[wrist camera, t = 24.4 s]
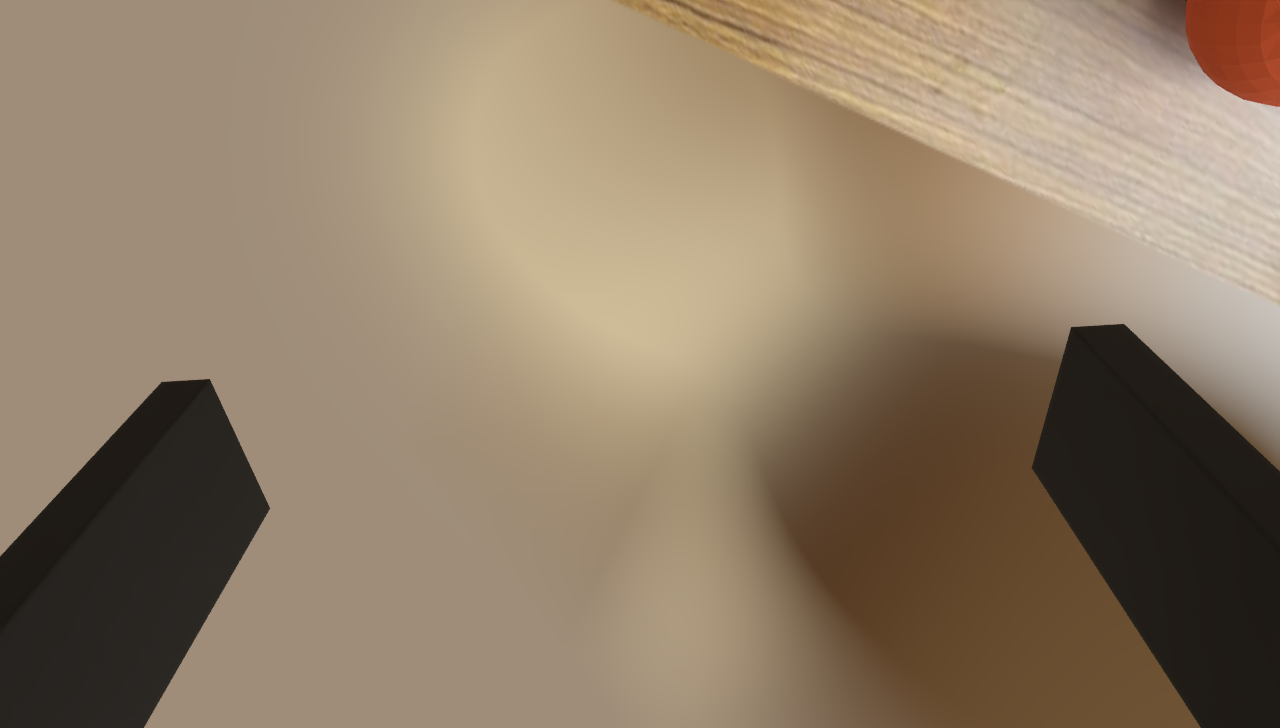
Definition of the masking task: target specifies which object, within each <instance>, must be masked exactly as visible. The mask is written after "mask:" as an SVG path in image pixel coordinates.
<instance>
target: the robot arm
mask: <svg viewBox="0 0 1280 728" xmlns="http://www.w3.org/2000/svg"><path fill="white" fill-rule="evenodd" d="M1032 469H1033V470H1034V472H1035V474H1036V475H1037V477H1038V478H1039V480H1040V481H1041V483H1042V484H1043V486H1044V487H1045V489H1046V490H1047V492H1048V494H1049V495H1050V497H1051V498H1052V499H1053V501H1054V503H1055V504H1056V506H1057V507H1058V509H1059V510H1060V512H1061V514H1062V515H1063V517H1064V518H1065V520H1066V521H1067V523H1068V524H1069V526H1070V527H1071V529H1072V530H1073V532H1074V533H1075V535H1076V536H1077V538H1078V540H1079V541H1080V543H1081V544H1082V546H1083V547H1084V549H1085V550H1086V552H1087V553H1088V555H1089V556H1090V558H1091V560H1092V561H1093V563H1094V564H1095V566H1096V567H1097V569H1098V570H1099V572H1100V573H1101V575H1102V577H1103V578H1104V580H1105V581H1106V583H1107V584H1108V586H1109V587H1110V589H1111V590H1112V592H1113V593H1114V595H1115V597H1116V598H1117V600H1118V601H1119V602H1120V604H1121V606H1122V607H1123V609H1124V610H1125V612H1126V613H1127V615H1128V616H1129V618H1130V620H1131V621H1132V623H1133V624H1134V626H1135V627H1136V629H1137V630H1138V632H1139V633H1140V635H1141V636H1142V638H1143V640H1144V641H1145V643H1146V644H1147V646H1148V647H1149V649H1150V650H1151V652H1152V653H1153V655H1154V656H1155V658H1156V660H1157V661H1158V663H1159V664H1160V665H1161V667H1162V669H1163V670H1164V672H1165V673H1166V675H1167V676H1168V678H1169V679H1170V681H1171V683H1172V684H1173V686H1174V687H1175V689H1176V690H1177V692H1178V693H1179V695H1180V696H1181V698H1182V699H1183V701H1184V703H1185V704H1186V706H1187V707H1188V709H1189V710H1190V712H1191V713H1192V715H1193V716H1194V718H1195V719H1196V721H1197V722H1198V724H1199V725H1200V727H1201V728H1280V472H1279V470H1278V469H1276V468H1275V467H1274V466H1273V465H1272V464H1271V463H1270V462H1269V461H1268V460H1267V459H1266V458H1265V457H1264V456H1263V455H1262V454H1261V453H1259V451H1257V450H1256V449H1255V448H1254V447H1253V446H1252V445H1251V444H1250V443H1249V442H1248V441H1247V440H1246V439H1245V438H1244V437H1243V436H1242V435H1240V434H1239V432H1237V431H1236V430H1235V429H1234V428H1233V427H1232V426H1231V425H1230V424H1229V423H1228V422H1227V421H1226V420H1225V419H1224V418H1223V417H1222V416H1220V415H1219V414H1218V413H1217V412H1216V411H1215V410H1214V409H1213V408H1212V407H1211V406H1210V405H1209V404H1208V403H1207V402H1206V401H1205V400H1203V398H1201V396H1199V395H1198V394H1197V393H1196V392H1195V391H1194V390H1193V389H1192V388H1191V387H1190V386H1189V385H1188V384H1187V383H1186V382H1185V381H1183V380H1182V379H1181V378H1180V377H1179V376H1178V375H1177V374H1176V373H1175V372H1174V371H1173V370H1172V369H1171V368H1170V367H1169V366H1168V365H1167V364H1165V362H1164V361H1162V360H1161V359H1160V358H1159V357H1158V356H1157V355H1156V354H1155V353H1154V352H1153V351H1152V350H1151V349H1150V348H1149V347H1148V346H1147V345H1146V344H1145V343H1143V342H1142V341H1141V340H1140V339H1139V338H1138V337H1137V336H1136V335H1135V334H1134V333H1133V332H1132V331H1131V330H1130V329H1129V328H1128V327H1127V326H1126V325H1124V324H1117V325H1100V326H1083V327H1071V330H1070V334H1069V337H1068V341H1067V344H1066V348H1065V351H1064V355H1063V359H1062V362H1061V366H1060V369H1059V373H1058V376H1057V380H1056V384H1055V387H1054V391H1053V394H1052V398H1051V401H1050V405H1049V408H1048V412H1047V416H1046V419H1045V423H1044V426H1043V430H1042V433H1041V437H1040V441H1039V444H1038V448H1037V451H1036V455H1035V458H1034V462H1033V466H1032ZM269 509H270V507H269V505H268V503H267V501H266V499H265V497H264V494H263V493H262V490H261V488H260V486H259V484H258V482H257V480H256V477H255V476H254V473H253V471H252V469H251V467H250V464H249V462H248V460H247V458H246V456H245V454H244V452H243V450H242V447H241V445H240V443H239V441H238V439H237V437H236V434H235V432H234V430H233V428H232V426H231V424H230V422H229V419H228V417H227V415H226V413H225V411H224V409H223V407H222V404H221V402H220V400H219V398H218V396H217V394H216V392H215V390H214V387H213V385H212V383H211V381H210V379H205V380H188V381H171V382H161V384H160V385H159V386H158V387H157V388H156V389H155V390H154V391H153V392H152V393H151V394H150V395H149V396H148V398H147V399H146V400H145V401H144V402H143V403H142V404H141V405H140V406H139V407H138V408H137V409H136V410H135V412H134V413H133V414H132V415H131V416H130V417H129V418H128V419H127V420H126V421H125V422H124V423H123V424H122V426H121V427H120V428H119V429H118V430H117V431H116V432H115V433H114V434H113V435H112V436H111V437H110V439H109V440H108V441H107V442H106V443H105V444H104V445H103V446H102V447H101V448H100V449H99V451H97V453H96V454H95V455H94V456H93V457H92V458H91V459H90V460H89V461H88V462H87V463H86V465H85V466H84V467H83V468H82V469H81V470H80V471H79V472H78V473H77V474H76V475H75V476H74V477H73V478H72V480H71V481H70V482H69V483H68V484H67V485H66V486H65V487H64V488H63V489H62V490H61V492H60V493H59V494H58V495H57V496H56V497H55V498H54V499H53V500H52V501H51V502H50V503H49V504H48V505H47V507H46V508H45V509H44V510H43V511H42V512H41V513H40V514H39V515H38V516H37V517H36V519H34V521H33V522H32V523H31V524H30V525H29V526H28V527H27V528H26V529H25V530H24V531H23V533H22V534H21V535H20V536H19V537H18V538H17V539H16V540H15V541H14V542H13V543H12V544H11V545H10V546H9V548H8V549H7V550H6V551H5V552H4V553H3V554H2V555H1V556H0V728H144V726H145V725H146V723H147V721H148V719H149V718H150V716H151V714H152V713H153V711H154V709H155V707H156V706H157V704H158V702H159V700H160V698H161V697H162V695H163V693H164V692H165V690H166V688H167V686H168V685H169V683H170V681H171V679H172V678H173V676H174V674H175V673H176V671H177V669H178V667H179V665H180V664H181V662H182V660H183V658H184V657H185V655H186V653H187V652H188V650H189V648H190V647H191V645H192V643H193V641H194V639H195V638H196V636H197V634H198V632H199V631H200V629H201V627H202V626H203V624H204V622H205V620H206V619H207V617H208V615H209V614H210V612H211V610H212V608H213V607H214V605H215V603H216V601H217V599H218V598H219V596H220V594H221V592H222V591H223V589H224V587H225V586H226V584H227V582H228V581H229V579H230V577H231V575H232V573H233V572H234V570H235V568H236V567H237V565H238V563H239V561H240V560H241V558H242V556H243V554H244V553H245V551H246V549H247V548H248V546H249V544H250V542H251V541H252V539H253V537H254V535H255V533H256V532H257V530H258V528H259V526H260V525H261V523H262V521H263V520H264V518H265V516H266V514H267V513H268V511H269Z"/></svg>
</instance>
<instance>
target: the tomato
mask: <svg viewBox="0 0 1280 728" xmlns="http://www.w3.org/2000/svg"><path fill="white" fill-rule="evenodd" d="M1186 33H1187V38H1188V42H1189V46H1190V49H1191V51H1192V53H1193V54H1194V56H1195V58H1196V60H1197V62H1198V63H1199V65H1200V67H1201V68H1202V70H1203V72H1204V73H1205V74H1206V75H1207V76H1208V77H1209V78H1210V79H1211V80H1212V81H1214V82H1215V83H1216V84H1217V85H1218V86H1220V87H1222V88H1223V89H1225V90H1226V91H1228V92H1230V93H1232V94H1234V95H1236V96H1238V97H1240V98H1242V99H1244V100H1248V101H1253V102H1257V103H1261V104H1266V105H1271V106H1276V107H1280V0H1187V3H1186Z"/></svg>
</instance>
